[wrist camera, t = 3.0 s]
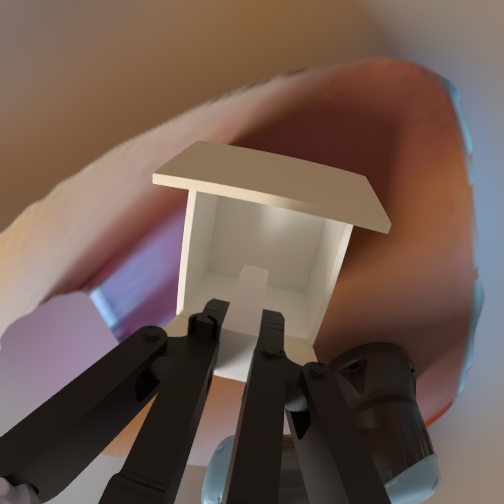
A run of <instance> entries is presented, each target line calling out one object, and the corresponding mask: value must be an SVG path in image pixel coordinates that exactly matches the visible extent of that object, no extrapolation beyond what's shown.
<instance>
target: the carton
mask: <svg viewBox="0 0 504 504" xmlns="http://www.w3.org/2000/svg"><path fill="white" fill-rule="evenodd" d="M352 228H353V225H351V224H347V223H343V222H339V221H335V220H331V219H327V218H323V217H319V216H314V215H310V214H306V213H302V212H297V211H293V210H288V209H284V208H279V207H275V206H270V205H265V204H261V203H256V202H251V201H246V200H241V199H236V198H231V197H226V196H221V195H216V194H211V193H205V192H200V191H194V190H189V196H188V204H187V211H186V219H185V227H184V236H183V245H182V254H181V264H180V275H179V287H178V300H177V314H176V315H179V316H182V317H186V318H189V317H190V316H191V315H193V314H195V313H201V312H202V311H203V309H204V307H205V305H206V303H207V302H208V301H210V300H211V299H213V298H215V299H219V300H223V301H227V302H231V299H232V296H233V293H234V291H235V288H236V285H237V282H238V279H239V277H240V274H241V271H242V268H243V266H244V264H245V265H250V266H255V267H259V268H264V269H268V270H269V272H268V279H267V285H266V292H265V299H264V305H263V309H266V310H271V311H276V312H281V313H282V315H283V317H284V318H285V330H284V331H285V332H284V340H286V341H292V342H297V343H303V344H308V345H313V344H314V342H315V339H316V337H317V334H318V331H319V329H320V326H321V323H322V321H323V318H324V315H325V312H326V310H327V307H328V304H329V301H330V298H331V295H332V292H333V289H334V286H335V283H336V280H337V277H338V274H339V271H340V268H341V265H342V262H343V259H344V255H345V252H346V249H347V246H348V242H349V239H350V235H351V232H352Z"/></svg>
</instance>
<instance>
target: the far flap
mask: <svg viewBox="0 0 504 504" xmlns="http://www.w3.org/2000/svg"><path fill="white" fill-rule="evenodd" d="M188 319H189V318H186V317H182V316H179V315H177V316H176V317H175V318H174V319H173V320H172V321H171V322H170V323H169V324H168V325H167V326H166V327H165V328H164V329H163V330H165V331H166V333H167V336H169V337H182V336H186V335H187V331H188ZM284 351H285V352H286V356H287V357H288V358H289V359H290V360H291V361H293V362H295V363H297V364H299V365H301V366H304V364H306V363H308V362H313V361H315V362H318V361H317V358H316V355H315V352H314V349H313V346H312V345H308V344H303V343H297V342H292V341H286V340H284Z"/></svg>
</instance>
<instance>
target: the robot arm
mask: <svg viewBox="0 0 504 504" xmlns="http://www.w3.org/2000/svg"><path fill="white" fill-rule="evenodd" d="M268 272H269V270H268V269H264V268H259V267H255V266H250V265H245V264H244V266H243V268H242V271H241V274H240V277H239V279H238V282H237V285H236V288H235V291H234V293H233V296H232V299H231V302H227V301H223V300H219V299H215V298H213V299H211V300H210V301H208V302H207V303H206V305H205V307H204V309H203V311H202V312H201V313H195V314H193V315H191V316H190V317H189V319H188V331H187V335H186V336H182V337H169V336H167V333H166V331H165V330H163V329H162V328H160V327H157V326H150V325H149V326H144V327H142V328H140V329H138V330H137V331H136V332H135V333H133V334H132V335H131V336H129V337H128V338H127V339H125V340H124V341H123V342H122V343H120V344H119V345H118V346H116V347H115V348H114V349H112V350H111V351H110V352H109V353H108V354H106V355H105V356H103V357H102V358H101V359H100V360H98V361H97V362H96V363H95V364H93V365H92V366H91V367H89V368H88V369H87V370H85V371H84V372H83V373H82V374H80V375H79V376H78V377H77V378H75V379H74V380H73V381H71V382H70V383H69V384H68V385H66V386H65V387H64V388H63V389H61V390H60V391H59V392H57V393H56V394H55V395H53V396H52V397H51V398H50V399H48V400H47V401H46V402H45V403H43V404H42V405H41V406H40V407H38V408H37V409H36V410H34V411H33V412H32V413H31V414H29V415H28V416H27V417H26V418H24V419H23V420H22V421H21V422H19V423H18V424H17V425H15V426H14V427H13V428H12V429H11V430H9V431H8V432H7V433H5V434H4V435H3V436H2V437H0V504H42V503H45V502H47V501H49V500H50V499H52V498H54V497H55V496H57V495H58V494H59V493H60V492H62V491H63V490H64V489H65V488H66V487H67V486H68V485H69V484H70V483H71V482H72V481H73V480H74V479H75V478H76V477H77V476H78V475H79V474H80V473H81V472H82V471H83V470H84V469H85V468H86V467H87V466H88V465H89V464H90V463H91V462H92V461H93V460H94V459H95V458H96V457H97V456H98V455H99V454H100V453H101V452H102V451H103V450H104V449H105V448H106V447H107V446H108V445H109V443H110V442H111V441H112V440H113V439H114V438H115V437H116V436H117V435H118V434H119V433H120V432H121V431H122V430H123V429H124V428H125V427H126V426H127V425H128V424H129V423H130V421H131V420H132V419H133V418H134V417H135V416H136V415H137V414H138V413H139V412H140V411H141V410H142V409H143V408H144V407H145V406H146V404H147V403H148V402H149V401H150V400H151V399H152V398H153V397H154V396H155V395H156V394H157V393H158V394H157V396H156V398H155V400H154V402H153V404H152V406H151V408H150V410H149V412H148V414H147V416H146V419H145V421H144V423H143V425H142V427H141V429H140V431H139V433H138V435H137V437H136V440H135V442H134V444H133V446H132V448H131V450H130V452H129V454H128V457H127V459H126V461H125V463H124V465H123V467H122V469H121V471H120V472H119V473H117V474H114V475H113V476H112V478H111V479H110V480H109V482H108V484H107V486H106V488H105V490H104V492H103V494H102V497H101V499H100V501H99V503H98V504H174V502H175V499H176V495H177V492H178V489H179V486H180V482H181V479H182V476H183V473H184V470H185V466H186V463H187V460H188V457H189V454H190V451H191V447H192V444H193V441H194V438H195V435H196V431H197V428H198V425H199V422H200V419H201V415H202V412H203V409H204V406H205V403H206V399H207V396H208V393H209V390H210V387H211V383H212V377H213V373H214V375H217V376H221V377H225V378H230V379H234V380H239V381H243V382H246V385H245V389H244V392H243V396H242V400H241V401H242V403H241V409H240V414H239V419H238V424H237V429H236V434H235V435H232V436H229V437H227V438H226V439H224V440H223V441H222V442H221V443H220V444H219V445H218V447H217V448H216V450H215V452H214V454H213V456H212V458H211V460H210V463H209V465H208V469H207V471H206V475H205V479H204V483H203V489H202V496H201V497H202V498H201V503H202V504H422V503H423V502H425V501H426V500H427V499H428V498H430V497H431V496H432V495H433V494H434V493H435V491H436V490H437V489H438V486H439V484H440V481H441V477H440V471H439V467H438V461H437V459H438V458H437V455H436V454H435V452H434V449H433V446H432V443H431V440H430V437H429V435H428V432H427V429H426V426H425V423H424V421H423V418H422V415H421V413H420V410H419V408H418V405H417V402H416V371H415V367H414V364H413V362H412V360H411V358H410V356H409V354H408V353H407V352H406V351H405V350H404V349H403V348H401V347H399V346H397V345H394V344H389V343H372V344H367V345H363V346H360V347H357V348H354V349H352V350H350V351H348V352H346V353H344V354H342V355H341V356H339V357H338V358H337V359H335V360H334V361H333V362H332V363H331V364H330V365H329V366H327V365H325V364H323V363H320V362H315V361H313V362H308V363H306V364H304V366H301V365H299V364H297V363H295V362H293V361H291V360H290V359H289V358H288V357H287V356H286V352H285V351H284V332H285V331H284V330H285V318H284V317H283V315H282V313H281V312H276V311H271V310H266V309H263V305H264V299H265V292H266V285H267V279H268ZM284 408H285V412H286V416H287V420H288V424H289V427H290V431H291V434H288V435H283V427H284Z"/></svg>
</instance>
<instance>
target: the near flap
mask: <svg viewBox="0 0 504 504" xmlns="http://www.w3.org/2000/svg"><path fill="white" fill-rule="evenodd" d="M153 184H159V185H165V186H171V187H177V188H183V189H189V190H194V191H200V192H205V193H211V194H216V195H221V196H226V197H231V198H236V199H241V200H246V201H251V202H256V203H261V204H265V205H270V206H275V207H279V208H284V209H288V210H293V211H297V212H302V213H306V214H310V215H314V216H319V217H323V218H327V219H331V220H335V221H339V222H343V223H347V224H351V225H355V226H359V227H363V228H367V229H371V230H374V231H378V232H382V233H385V234H388V232H389V230H390V227H391V225H392V224H391V222H390V220H389V218H388V216H387V214H386V212H385V211H384V209H383V207H382V205H381V203H380V201H379V199H378V198H377V196H376V194H375V192H374V190H373V189H372V187H371V185H370V183H369V182H368V180H367V178H366V176H363V175H360V174H356V173H352V172H349V171H345V170H342V169H338V168H334V167H330V166H326V165H322V164H318V163H314V162H310V161H306V160H302V159H297V158H293V157H288V156H284V155H279V154H274V153H269V152H264V151H259V150H254V149H248V148H243V147H237V146H231V145H225V144H218V143H212V142H205V141H197V142H195V143H194V144H192V145H191V146H189V147H188V148H186V149H185V150H184V151H182V152H181V153H179V154H178V155H177V156H175V157H174V158H172V159H171V160H170V161H168V162H167V163H166V164H164V165H163V166H162V167H160V168H159V169H158V170H156V171H155V172H154V173H153Z"/></svg>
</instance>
